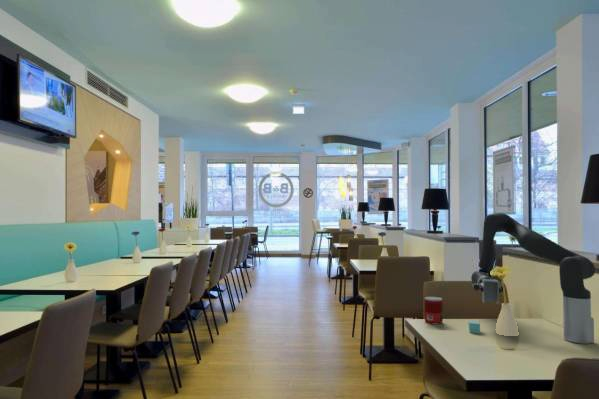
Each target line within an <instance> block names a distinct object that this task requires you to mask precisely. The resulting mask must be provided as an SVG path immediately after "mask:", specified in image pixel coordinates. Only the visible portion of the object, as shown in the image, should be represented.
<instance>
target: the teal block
mask: <svg viewBox="0 0 599 399" xmlns="http://www.w3.org/2000/svg"><path fill="white" fill-rule="evenodd" d="M468 331H469V333H470V334H471V333H472V334H473V333H474V334H481V323H480V321H474V320H472V321H471V320H469V321H468Z"/></svg>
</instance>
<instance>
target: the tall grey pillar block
mask: <svg viewBox="0 0 599 399" xmlns="http://www.w3.org/2000/svg"><path fill="white" fill-rule="evenodd" d="M482 286H483V287H484V292H482V291H481V293H482V295H481V299H482V303H483V304H484V305H485V304H486V302H487V303H488V302H489V303H495V304H497V305H498V306H499V305H500V293H499V286H500V281H499V280H497V279H482Z"/></svg>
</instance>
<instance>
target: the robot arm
mask: <svg viewBox="0 0 599 399" xmlns="http://www.w3.org/2000/svg"><path fill="white" fill-rule="evenodd" d="M482 227H483V231H482V232H483V233H482V246H481V253H480V257H479V262H478V268H479V269H480V270H482V271H478V270H476V271H474V272H472V274H471V276H470V279H471V282H472V285H471V286H472V287H471V288H472V289H473V290H474V291H477V292H478V290H479V292H481V293H482V292H484V287H483V286H482V279H494V276H493V277H492V276H491V275H490V271H491V270H492V269H493V270H494V267H495V263H496V261H497V260H496V259H497V251H496V248H495V244H494V241H495V240H494V239H495V236H496V234H497V233H505V234H508V235H510V236H511V237H514V238H515V239H516V241H517V243H518V244H519V246H520V247H521V249H523V250H524V251H527V252H528V253H530V254H531V255H534V256H536V257H539V258H540V259H541V258H542V259H544V260H547V261H550V262H553V263H556V264H558V265H559V268H558V269H559V284H560V289H561V291H562V308H563V309H562V310H563V311H562V313H563V314H562V315H563V339H564V340H565V341H567V342H571V343H575V344H585V345H586V344H592V343H593V344H594V343H595V321H594V320H595V319H594V317H592V301H591V299H592V294H591V291H590V290H589V289H587V288H586V287H585V284H584V283H585V282H584V280H588V279H589V278H592V277H593V276H595V274H596V267H595V264H594V263H593V262H592V260H590V259H589V258H588V257H586V256H583V255H581V254H579V253H577V252H573V251H571V250H569V249H567V248H565V247H563V246H561V245H560V244H558V243H556V242H555V241H552V240H551V239H550V238H547V237H546V236H544V235H542V234H540V233H539V232H536V231H534V229H533V230H532V229H530V228H529V227H527V226H525V225H524V224H522V223H520V222H518V221H517V220H516V219H514V218H513V217H511V216H510V215H509V214H506V213H504V212H497V213H490V214H487V215H486V216H485V218H484V220H483V226H482ZM483 271H484V272H483ZM502 285H503V284H500V285H499V294H500V293H504V292H503V287H502Z"/></svg>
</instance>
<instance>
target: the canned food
mask: <svg viewBox="0 0 599 399" xmlns="http://www.w3.org/2000/svg"><path fill="white" fill-rule="evenodd" d="M423 301H424V322H425V323H427V322H428V323H427V324H431V323H441V324H443V316H444V314H443V311H444V310H443V309H444V308H443V302H444V301H443V298H442V297H437V296H425V297H424V300H423Z"/></svg>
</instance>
